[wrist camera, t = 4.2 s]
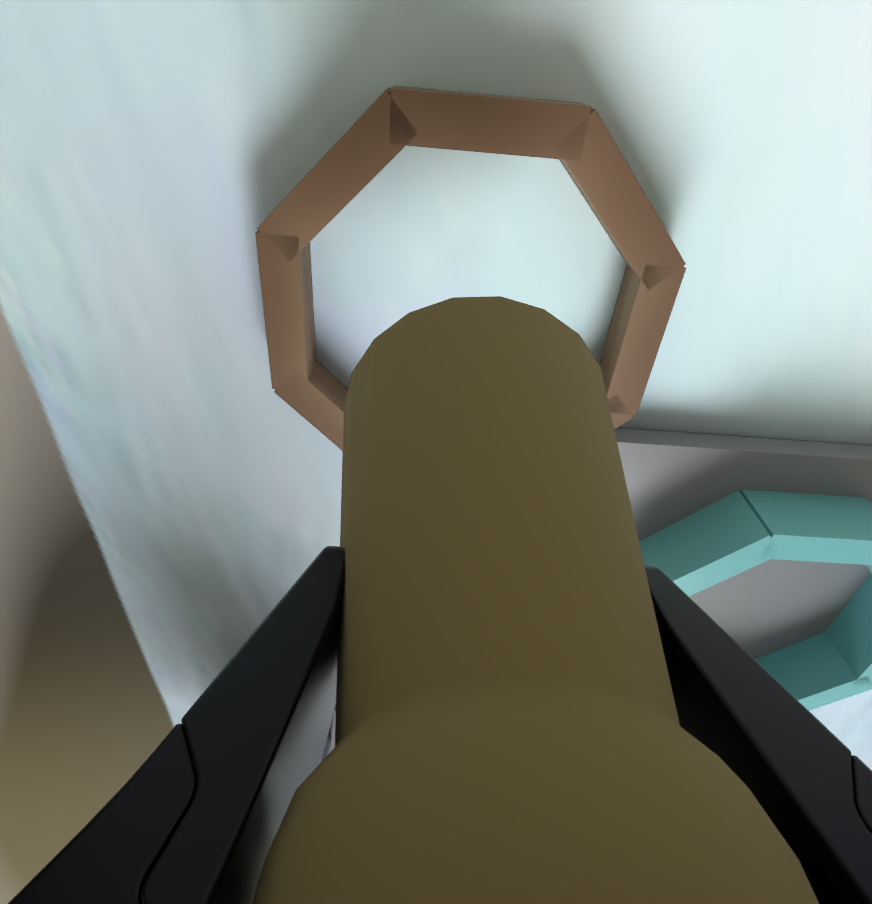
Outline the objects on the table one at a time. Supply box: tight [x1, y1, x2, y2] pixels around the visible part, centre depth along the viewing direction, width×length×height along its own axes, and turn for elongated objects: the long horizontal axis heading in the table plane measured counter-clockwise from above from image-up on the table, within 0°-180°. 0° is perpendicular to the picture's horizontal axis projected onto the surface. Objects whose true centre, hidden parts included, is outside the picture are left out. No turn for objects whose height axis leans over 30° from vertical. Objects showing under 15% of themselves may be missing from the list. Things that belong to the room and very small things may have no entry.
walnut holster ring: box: [256, 86, 686, 451], centre depth 18 cm, size 12×12×2 cm
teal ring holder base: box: [614, 428, 872, 711], centre depth 24 cm, size 16×16×4 cm
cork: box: [253, 296, 819, 904], centre depth 8 cm, size 6×6×11 cm
